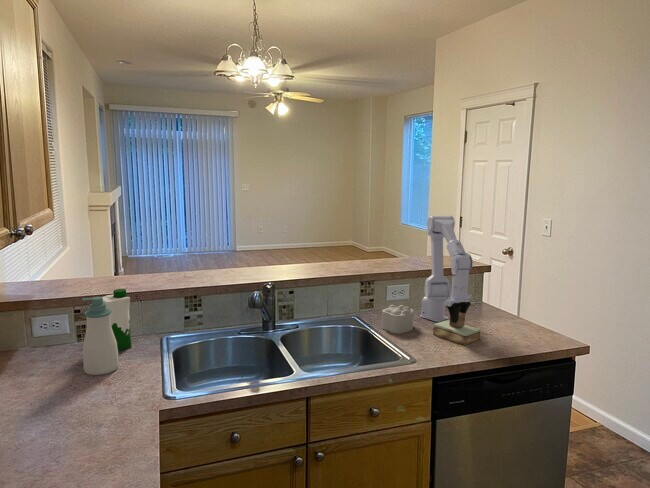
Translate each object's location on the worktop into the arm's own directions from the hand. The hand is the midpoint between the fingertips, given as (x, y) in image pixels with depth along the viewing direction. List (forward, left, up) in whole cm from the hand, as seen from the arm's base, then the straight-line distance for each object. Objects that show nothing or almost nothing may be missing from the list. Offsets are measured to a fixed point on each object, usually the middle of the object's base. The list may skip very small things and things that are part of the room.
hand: (457, 321), depth 174 cm
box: (0, 0, -6) cm, 6 cm away
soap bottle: (-53, -112, -6) cm, 124 cm away
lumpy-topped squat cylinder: (-20, -10, -7) cm, 23 cm away
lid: (0, 0, -3) cm, 3 cm away
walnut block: (0, 0, -2) cm, 2 cm away
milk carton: (-68, -103, -6) cm, 124 cm away
